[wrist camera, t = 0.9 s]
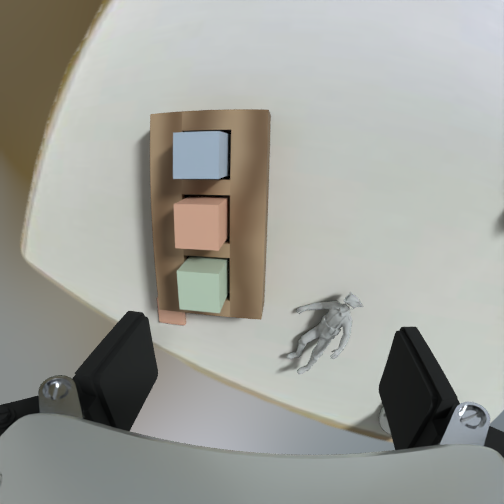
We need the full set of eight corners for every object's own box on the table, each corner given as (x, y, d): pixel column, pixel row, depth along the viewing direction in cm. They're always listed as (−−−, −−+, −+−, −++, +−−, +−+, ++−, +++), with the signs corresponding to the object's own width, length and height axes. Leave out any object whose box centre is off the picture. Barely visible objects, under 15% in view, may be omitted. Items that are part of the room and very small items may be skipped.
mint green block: (229, 255, 34) (218, 274, 29) (229, 290, 36) (219, 313, 30) (192, 253, 35) (176, 270, 29) (194, 287, 36) (179, 309, 31)
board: (270, 114, 31) (268, 109, 27) (263, 302, 38) (261, 319, 34) (164, 117, 32) (150, 114, 28) (170, 295, 39) (159, 309, 35)
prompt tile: (184, 299, 39) (182, 301, 38) (186, 323, 40) (184, 325, 39) (158, 296, 39) (156, 298, 39) (161, 319, 40) (159, 322, 40)
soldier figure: (273, 339, 41) (312, 278, 33) (300, 329, 43) (340, 270, 36) (305, 385, 36) (355, 333, 29) (330, 372, 39) (381, 319, 32)
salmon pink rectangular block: (229, 196, 32) (218, 204, 27) (229, 235, 34) (218, 250, 28) (191, 195, 33) (173, 204, 27) (192, 233, 34) (175, 248, 29)
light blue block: (230, 134, 30) (219, 131, 25) (230, 174, 31) (218, 179, 26) (191, 135, 31) (173, 132, 25) (191, 174, 32) (173, 178, 27)
